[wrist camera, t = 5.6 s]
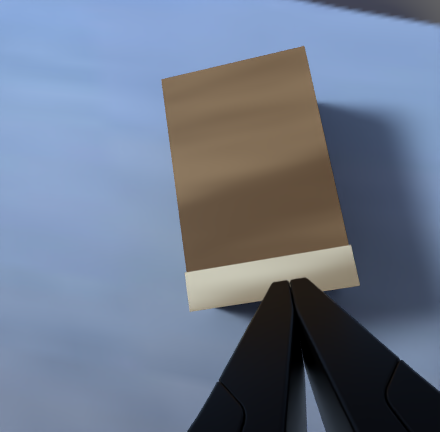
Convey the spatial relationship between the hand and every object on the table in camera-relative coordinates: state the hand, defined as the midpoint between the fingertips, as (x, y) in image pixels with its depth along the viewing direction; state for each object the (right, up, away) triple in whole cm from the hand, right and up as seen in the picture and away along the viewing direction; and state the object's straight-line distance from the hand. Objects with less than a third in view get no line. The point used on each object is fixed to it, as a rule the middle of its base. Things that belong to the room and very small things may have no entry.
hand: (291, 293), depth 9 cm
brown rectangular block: (0, -1, +4) cm, 4 cm away
